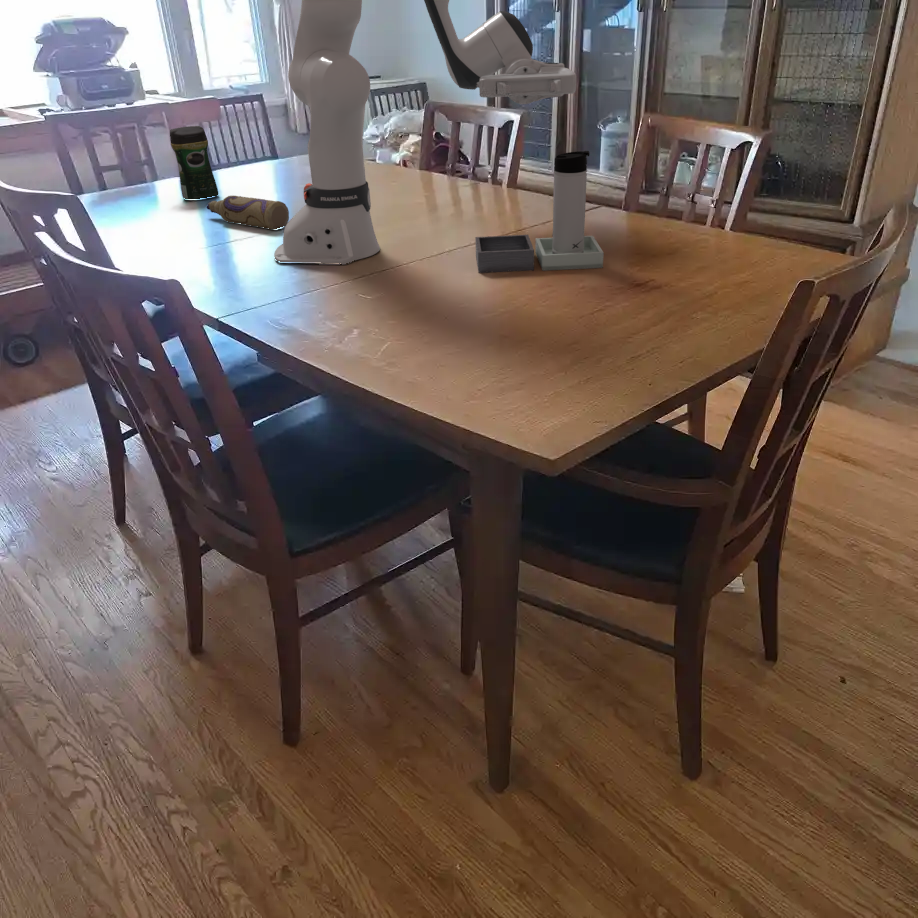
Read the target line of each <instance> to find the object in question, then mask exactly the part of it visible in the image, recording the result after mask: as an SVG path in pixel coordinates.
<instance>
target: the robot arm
mask: <svg viewBox="0 0 918 918" xmlns="http://www.w3.org/2000/svg"><path fill="white" fill-rule="evenodd" d="M423 1H424V4H425V7H426V10H427V13H428V16H429V18H430V21H431V24H432V26H433V28H434V31H435V34H436V36H437V40H438V41H439V44H440V47H441V49H442V52H443V55H444V59H445V60H444V61H445V64H446V67H447V72H448V73H449V76H450V78H451V80H453V82H454V83H455V84H456V86H457V87H458V88H460V89H464V90H471V91H472V90H473V91H474V90H476V89H477V88H478V89H479V97H480V98H500V97H501V98H504V97H508V98H509V99H510V100H511V101H513V102H514V103H516V104H518V105H529V104H531V103H534V102H538V101H540V100H545V99H551V98H559V97H563V96H564V95H569V94H570V95H572V94H576V91H577V74H576V73H575V71H573V70H572V69H570V68H567V67H565V64H564V63H562V62H548V61H540V60H536V59H533V58H532V57H533V54H534V53H533V52H534V44H533V42H532V40H531V38H530V35H529V33H528V32H527V30H526V28H525V26H524V24H523V23H522V22H521V21H520V20H519V18H517V16H516V15H515V14H513V13H510V12H508V11H505V10H499V12H496V13H495V14H493V16H491V17H489V18H488V19H486V21H484V22H483V23H482V24H481V25H480V26H477V28H475V29H474V30H473V31H471V32H470V33H469V34H467V35H466V36H464V37H463V38H458V35H457V32H456V29H455V27H454V23H453V22H452V18H451V16H450V12H449V4H450V0H423ZM362 4H363V0H301V7H300V15H299V21H298V22H299V23H298V28H297V31H296V36H295V42H294V48H293V53H292V54H293V55H292V60H291V62H290V64H289V67H288V72H287V74H288V76H287V77H288V82H289V85H290V88H291V90H292V92H293V93H294V95H295V96H296V97H297V99H298V100H299V101H301V102H302V103H303V104H304V105H306V106H308V107H309V109H310V125H309V126H310V128H309V129H310V130H309V131H310V132H309V140H308V142H307V153H308V161H309V162H308V163H309V169H310V176H311V177H310V178H311V183H310V182H309V183H306V184H305V185H304V187H303V199H304V204H305V205H304V206H303V207H302V208H300V210H299V211H297V212H296V213H295V214H294V216H293V217H291V218H290V219H289V221H288V223H287V224H286V226H285V227H284V228H283V236H282V244H280V245H279V246H278V247H277V248H275V251H274V255H273V256H274V257H275V258H274V260H275V259H276V260H277V261H280V262H321V263H339V264H338V265H340V263H341V264H342V265H347V264H346V263H348V264H350V263H353V262H354V260H355V261H357V260H362V259H365V258H368V257H371V256H373V255H375V254H377V253H378V252H379V251H380V250H381V247H380V244H379V242H378V240H377V237H376V232H375V230H374V224H373V221H372V216H371V207H372V206H371V204H372V203H371V193H370V186H369V182H368V181H367V179H366V169H365V168H366V167H365V160H364V159H365V158H364V156H365V155H364V147H363V146H364V145H363V144H364V143H363V138H364V137H363V136H364V135H363V133H364V123H365V110H366V104H367V102H368V99H369V96H370V93H371V80H370V76H369V73H368V72H367V69H366V68H365V67H364V65H363V64H361V62H360V61H358V60H357V59H356V58H355V57H353V55H351V54H350V52H351V48H352V42H353V39H354V35H355V33H356V29H357V27H358V25H359V23H360V21H361V17H362ZM498 71H500V73H499V74H495V73H497V72H498ZM352 261H353V262H352ZM349 262H350V263H349Z"/></svg>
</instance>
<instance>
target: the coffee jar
mask: <svg viewBox="0 0 918 918" xmlns="http://www.w3.org/2000/svg"><path fill="white" fill-rule="evenodd" d="M169 137H170V138H169V139H170V146H171V148H172V150H173V152H174V155H175V157H176V161H177V167H178V175H179V182H180V191H181V196H182V198H183V199H184V198H185V199H200V198H207V197H212V196H216V197H218V196H219V194H220V193H219V190H218V186H217V182H216V178H215V175H214V173H213V170H212V166H211V163H210V159H209V153H208V146H209V140H208V137H207V134H206V132H205V130H204V127H202V126H200V125H190V126H182V127H181V126H180V127H177V128H172V129H169ZM217 195H218V196H217ZM185 199H184V200H185Z"/></svg>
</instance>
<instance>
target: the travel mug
mask: <svg viewBox="0 0 918 918" xmlns="http://www.w3.org/2000/svg"><path fill="white" fill-rule="evenodd" d="M588 157H590V151H589V150H583V151H570V152H565V153H561V154H558V155H556V157H554V169H553V173H554V174H553V197H552V198H553V200H552V202H553V204H552V207H553V208H552V238H553V243H552V247H553V248H552V254H564V253H583V252H584V248H583V247H584V236H585V225H586V200H587V199H586V198H587V179H588V178H587V177H588V173H587V172H588V166H587V164H588V159H587V158H588Z"/></svg>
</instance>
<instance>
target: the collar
mask: <svg viewBox="0 0 918 918" xmlns="http://www.w3.org/2000/svg"><path fill="white" fill-rule="evenodd" d="M474 238H475V239H474V240H475V241H474V243H475V258H476V265H477V271H478V274H483V273H484V274H485V273H486V274H487V273H503V272H505V273H506V272H507V273H508V272H525V271H526V272H527V271H528V272H529V271H535V248H534V247H533V243H532V241H531V238H530V236H529V234H515V235H513V234H512V235H493V236H492V235H491V236H476V237H474Z"/></svg>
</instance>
